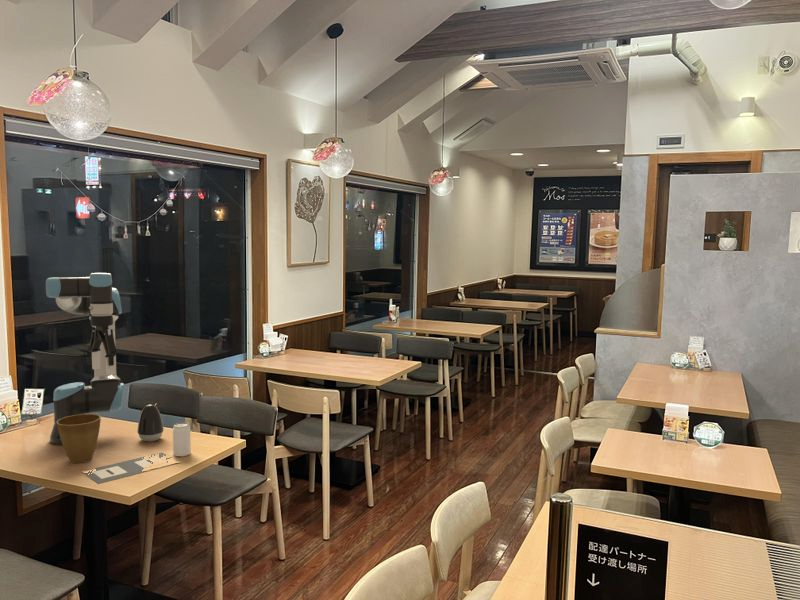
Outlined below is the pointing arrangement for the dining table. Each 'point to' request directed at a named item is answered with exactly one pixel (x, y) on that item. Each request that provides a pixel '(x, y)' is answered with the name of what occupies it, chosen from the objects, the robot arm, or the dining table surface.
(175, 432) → the can
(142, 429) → the pump dispenser
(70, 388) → the robot arm
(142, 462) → the label panel
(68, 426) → the plant pot
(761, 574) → the dining table surface
